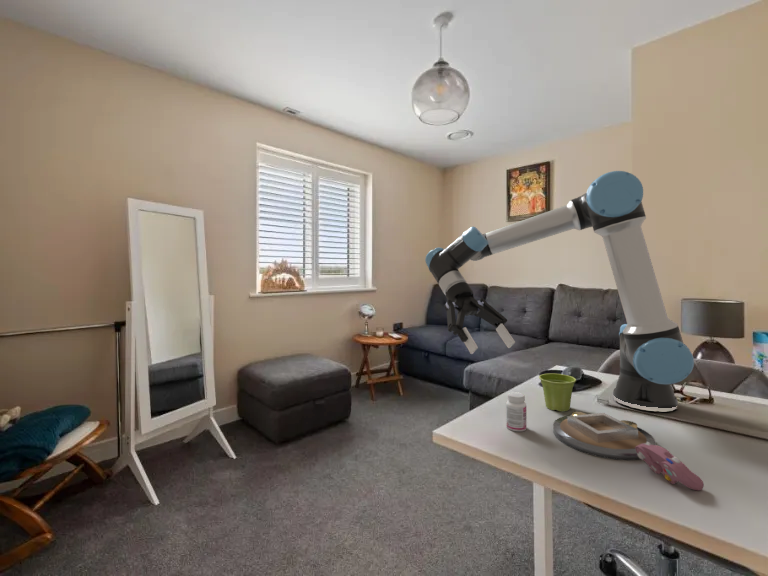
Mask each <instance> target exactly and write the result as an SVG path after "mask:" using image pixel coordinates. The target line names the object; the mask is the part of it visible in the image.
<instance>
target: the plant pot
mask: <svg viewBox="0 0 768 576" xmlns="http://www.w3.org/2000/svg"><path fill="white" fill-rule="evenodd" d="M538 379H539V380H540V383H541V385H542V389H543V397H544V402H545V403H544V404H545V407H546V408H547V409H549V410H550V411H555V410H556V411H558V412H568V411H570V408H571V400H572V395H573V394H572V393H573V387H574V386H575V383H576V382H577V379H576V378H575V377H574V376H571V375H567V374H562V373H544V374H540V375H539V376H538Z"/></svg>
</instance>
